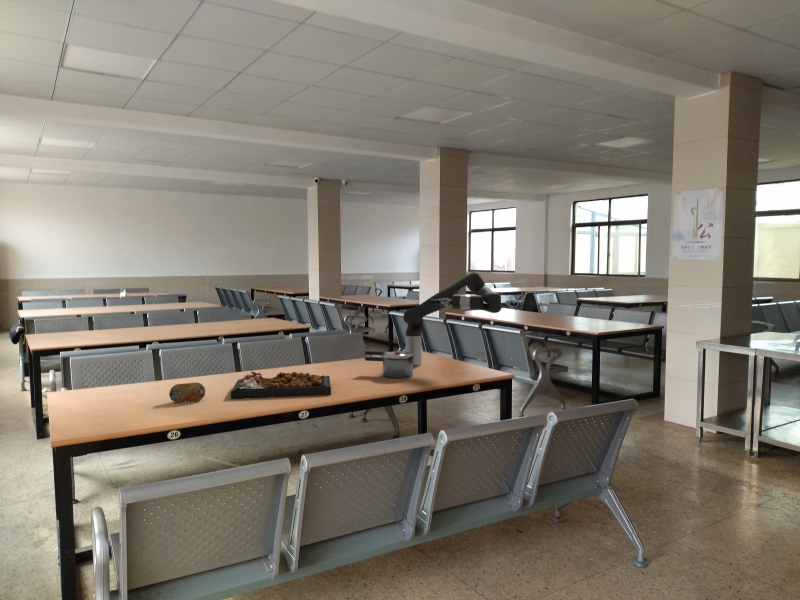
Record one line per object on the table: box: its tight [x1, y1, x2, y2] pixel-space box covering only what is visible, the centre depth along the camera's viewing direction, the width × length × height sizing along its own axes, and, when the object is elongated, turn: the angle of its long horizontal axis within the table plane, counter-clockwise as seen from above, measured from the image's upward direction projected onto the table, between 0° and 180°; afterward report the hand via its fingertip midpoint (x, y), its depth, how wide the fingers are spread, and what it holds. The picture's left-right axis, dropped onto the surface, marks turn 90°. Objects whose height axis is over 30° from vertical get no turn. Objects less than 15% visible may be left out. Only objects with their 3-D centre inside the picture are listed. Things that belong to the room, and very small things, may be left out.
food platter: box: [230, 370, 332, 400], centre depth 276 cm, size 45×25×10 cm, turn 98°
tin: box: [169, 382, 206, 403], centre depth 257 cm, size 15×3×8 cm, turn 106°
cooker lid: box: [364, 349, 415, 359], centre depth 309 cm, size 27×17×3 cm, turn 73°
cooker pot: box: [364, 355, 415, 380], centre depth 310 cm, size 27×16×10 cm, turn 73°
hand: (429, 301), depth 301 cm, fingers closed
